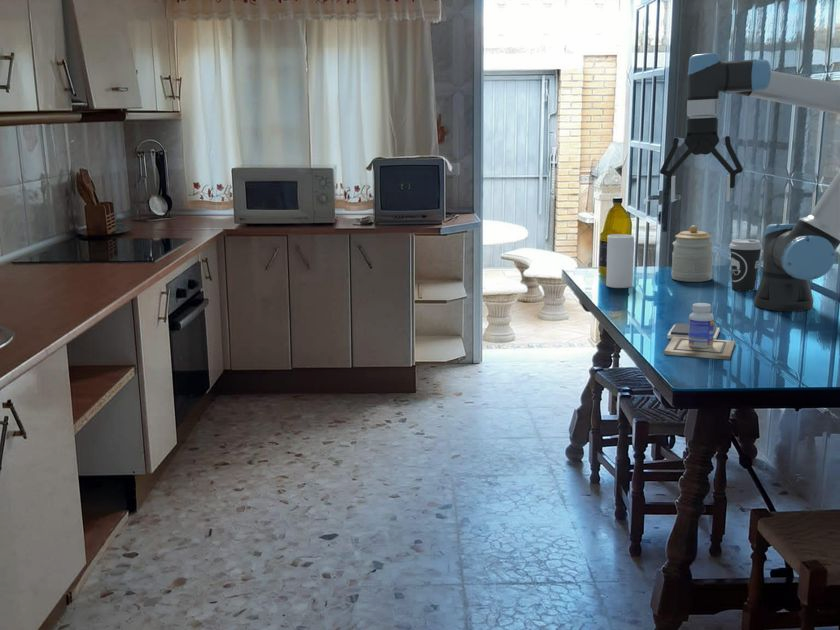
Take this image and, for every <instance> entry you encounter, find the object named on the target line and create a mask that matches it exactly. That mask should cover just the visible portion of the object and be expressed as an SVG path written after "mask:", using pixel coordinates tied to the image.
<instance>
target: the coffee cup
mask: <svg viewBox="0 0 840 630" xmlns="http://www.w3.org/2000/svg"><path fill="white" fill-rule="evenodd" d="M728 248H729V249H730V266H731V267H730V268H731V269H730V270H731V272H730V273H731V289H732V290H733V291H736V290H740V291H739V292H750V291H749V290H753V289H756V283H757V275H758V271H759V270H758V269H759V264H760V263H759V262H760V257H761V251H762V250H763V245H762V244H761V241H760V240H759V239H752V238H737V239H731V243H729V245H728Z"/></svg>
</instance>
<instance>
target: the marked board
mask: <svg viewBox="0 0 840 630" xmlns="http://www.w3.org/2000/svg"><path fill="white" fill-rule="evenodd" d="M688 343H689V338H687V337H673V338H672V339H670V342H668V344H667V346H666V347H665V349H664V352H663V354H664V355H665V356H667V355H668V356H669V355H670V356H678V357H690V358H691V357H693V358H703V359H704V358H705V359H717V360H730V359H731V358H732V354H733V351H734V348H735V345H736V340H729V339H728V340H726V339H725V340H724V339H716V340H715V339H713V346H712V347H710V348H694V347H691V346H689V344H688Z"/></svg>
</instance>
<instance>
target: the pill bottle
mask: <svg viewBox="0 0 840 630" xmlns="http://www.w3.org/2000/svg"><path fill="white" fill-rule="evenodd" d="M692 311H693V312H691V313H690V314H689V316H688V321H689V322H688V324H689V343H688V344H689V346H691V347H694V348H710V347H712V346H713V329H714V326H715V316H714V314H713V313H711V311H712V305H711V304H710V303H708V302H697V303H693V304H692Z"/></svg>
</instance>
